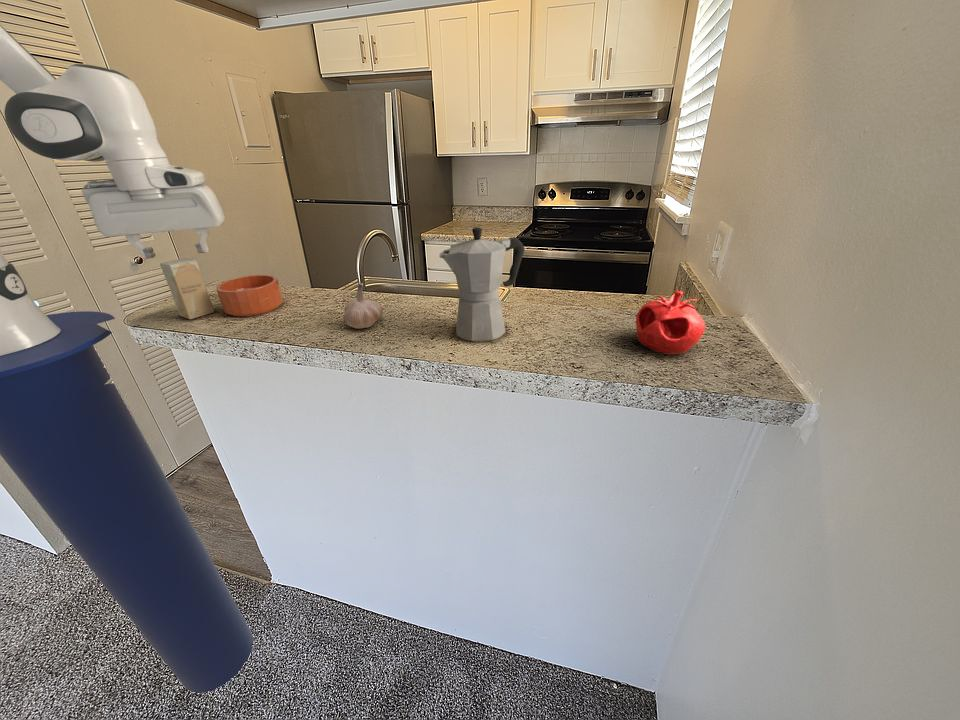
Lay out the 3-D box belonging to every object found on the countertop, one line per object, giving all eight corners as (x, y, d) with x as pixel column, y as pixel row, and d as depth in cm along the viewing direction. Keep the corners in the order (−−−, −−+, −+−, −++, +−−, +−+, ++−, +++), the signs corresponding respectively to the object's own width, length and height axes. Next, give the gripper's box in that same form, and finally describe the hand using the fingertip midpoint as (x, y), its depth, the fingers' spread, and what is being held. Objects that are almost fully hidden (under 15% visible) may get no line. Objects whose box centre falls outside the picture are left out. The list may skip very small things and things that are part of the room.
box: (189, 320, 81) (167, 266, 76) (179, 316, 83) (157, 263, 78) (216, 311, 85) (196, 259, 80) (206, 307, 87) (186, 256, 82)
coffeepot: (457, 350, 66) (450, 238, 57) (436, 329, 73) (427, 227, 65) (536, 330, 72) (540, 225, 63) (509, 313, 79) (509, 217, 71)
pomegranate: (656, 327, 71) (666, 276, 67) (711, 347, 64) (727, 291, 60) (619, 342, 67) (627, 288, 62) (674, 366, 59) (688, 307, 55)
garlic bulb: (378, 313, 81) (371, 274, 77) (391, 325, 76) (385, 284, 72) (340, 322, 78) (332, 282, 74) (352, 335, 72) (343, 292, 69)
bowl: (217, 320, 81) (208, 294, 78) (233, 301, 90) (225, 277, 88) (278, 313, 83) (271, 288, 80) (287, 295, 93) (281, 272, 90)
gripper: (65, 183, 67) (107, 265, 74) (201, 174, 71) (229, 253, 78) (87, 180, 72) (124, 257, 79) (212, 172, 76) (237, 245, 83)
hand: (177, 255), depth 78 cm, fingers open, 8 cm apart
